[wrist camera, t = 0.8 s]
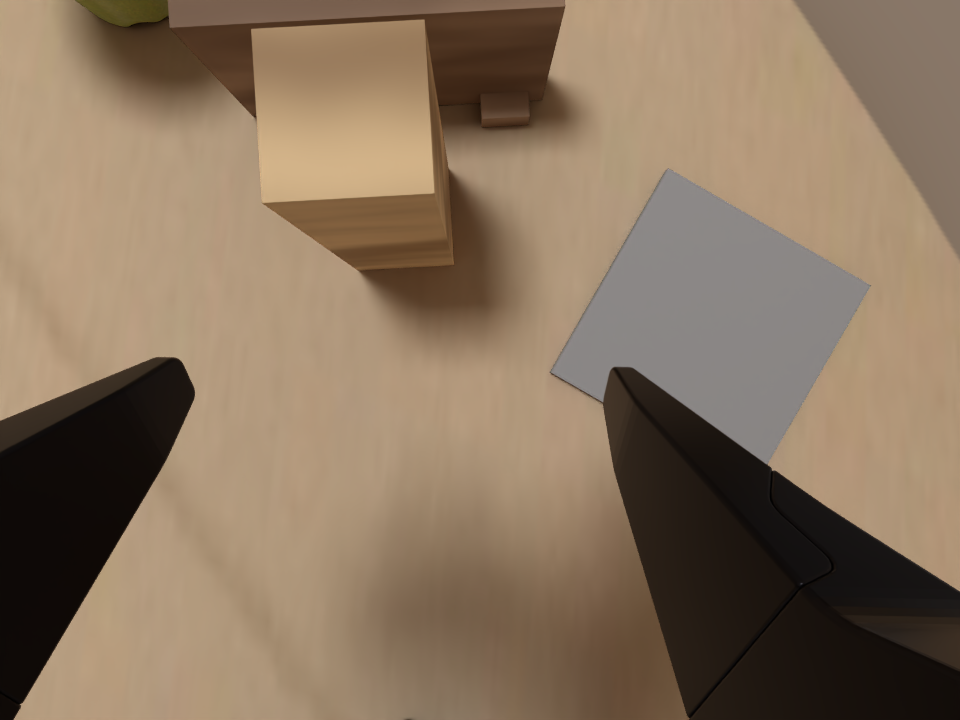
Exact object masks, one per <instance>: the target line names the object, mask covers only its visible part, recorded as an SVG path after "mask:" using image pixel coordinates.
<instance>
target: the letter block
mask: <svg viewBox="0 0 960 720" xmlns="http://www.w3.org/2000/svg"><path fill="white" fill-rule="evenodd" d="M251 35H252V51H253V67H254V83H255V100H256V116H257V132H258V148H259V164H260V180H261V196H262V203H263V204H264V205H266V206H267V207H268V208H270V209H271V210H273V211H274V212H276V213H277V214H278V215H280V216H281V217H283V218H284V219H285V220H287V221H288V222H290V223H291V224H293V225H294V226H295V227H297V228H298V229H300V230H301V231H303V232H304V233H305V234H307V235H308V236H310V237H311V238H313V239H314V240H315V241H317V242H318V243H320V244H321V245H323V246H324V247H325V248H327V249H328V250H330V251H331V252H332V253H334V254H335V255H337V256H338V257H340V258H341V259H342V260H344V261H345V262H347V263H348V264H350V265H351V266H352V267H354V268H355V269H357V270H376V269H393V268H411V267H429V266H447V265H454V256H453V238H452V221H451V203H450V185H449V168H448V162H447V156H446V150H445V144H444V137H443V131H442V125H441V119H440V113H439V106H438V100H437V94H436V88H435V82H434V75H433V69H432V63H431V57H430V51H429V44H428V38H427V32H426V26H425V20H406V21H388V22H369V23H351V24H333V25H314V26H296V27H277V28H259V29H251Z"/></svg>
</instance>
